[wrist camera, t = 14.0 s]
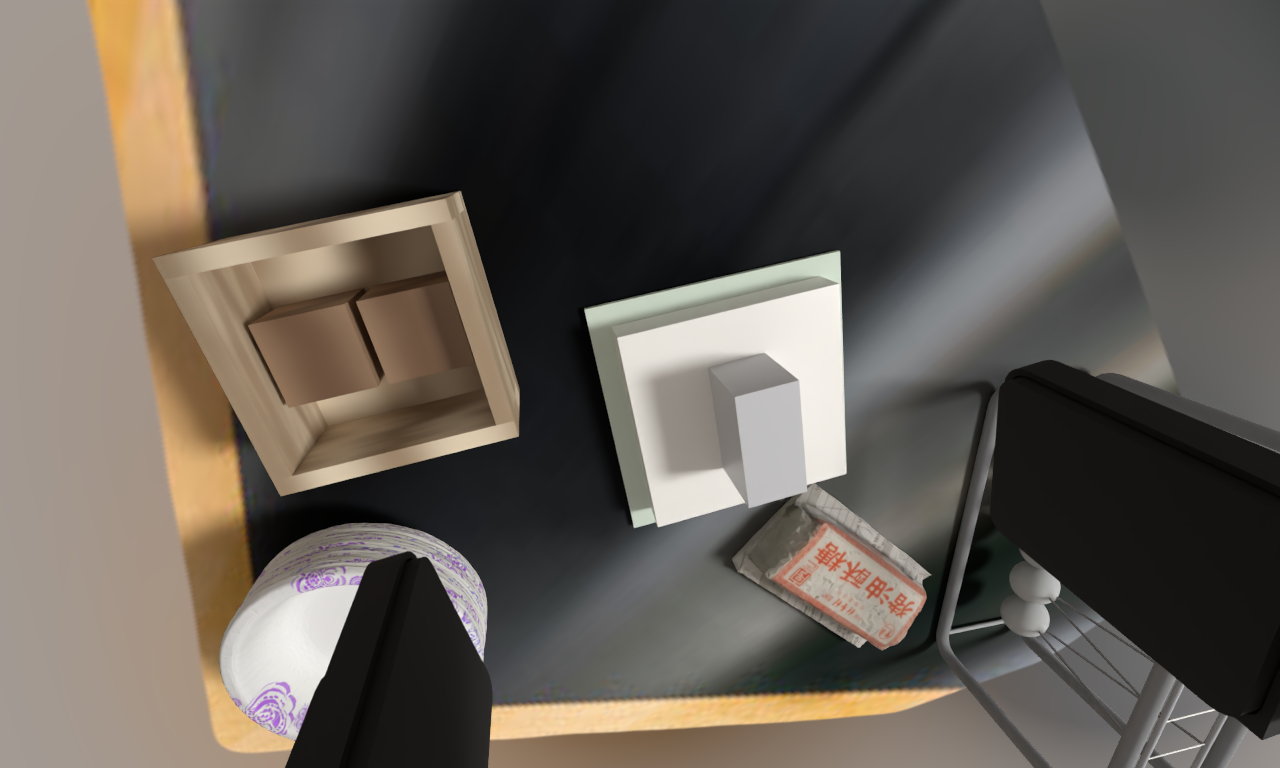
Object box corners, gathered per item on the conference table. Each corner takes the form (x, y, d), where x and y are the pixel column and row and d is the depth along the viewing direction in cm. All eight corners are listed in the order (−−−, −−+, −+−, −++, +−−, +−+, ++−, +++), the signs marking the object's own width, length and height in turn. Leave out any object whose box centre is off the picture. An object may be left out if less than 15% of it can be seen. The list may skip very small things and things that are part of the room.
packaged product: (746, 597, 43) (835, 507, 41) (725, 557, 47) (805, 473, 46) (879, 678, 50) (960, 603, 48) (850, 636, 54) (923, 566, 53)
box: (460, 190, 32) (445, 199, 26) (519, 389, 37) (518, 436, 31) (228, 237, 31) (151, 258, 24) (323, 436, 36) (280, 496, 30)
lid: (820, 276, 38) (884, 301, 31) (829, 457, 44) (885, 512, 38) (611, 326, 37) (631, 365, 30) (650, 507, 43) (675, 573, 36)
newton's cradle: (991, 377, 45) (1250, 499, 29) (1098, 364, 47) (1400, 472, 31) (930, 647, 57) (1092, 841, 41) (1018, 628, 58) (1207, 808, 42)
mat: (836, 250, 38) (840, 251, 38) (843, 466, 46) (846, 469, 45) (583, 308, 36) (584, 309, 36) (633, 524, 44) (634, 528, 43)
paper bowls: (258, 648, 41) (202, 751, 34) (285, 475, 37) (227, 553, 29) (465, 666, 46) (454, 761, 38) (512, 514, 41) (510, 590, 34)
